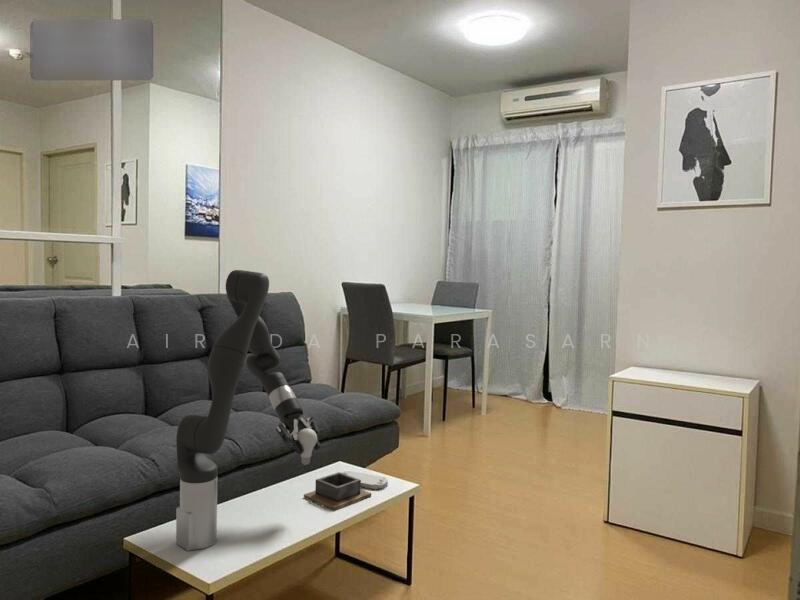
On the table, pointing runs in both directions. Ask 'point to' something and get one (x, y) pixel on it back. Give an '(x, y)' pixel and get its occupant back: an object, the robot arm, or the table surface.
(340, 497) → the holder
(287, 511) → the table surface
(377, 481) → the game console
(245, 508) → the table surface
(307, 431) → the lightbulb
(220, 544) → the table surface
